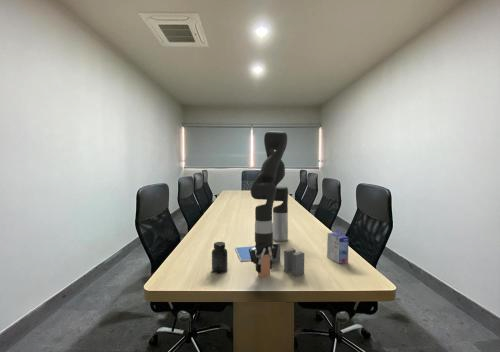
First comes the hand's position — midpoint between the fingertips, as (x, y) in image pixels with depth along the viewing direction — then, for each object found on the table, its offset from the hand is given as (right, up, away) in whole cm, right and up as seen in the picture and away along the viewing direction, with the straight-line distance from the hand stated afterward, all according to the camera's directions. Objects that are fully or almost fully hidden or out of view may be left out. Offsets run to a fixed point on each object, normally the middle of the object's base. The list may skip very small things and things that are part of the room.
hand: (264, 270), depth 99 cm
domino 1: (0, -2, 0) cm, 2 cm away
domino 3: (+12, -2, +4) cm, 13 cm away
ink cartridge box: (+37, -1, +16) cm, 40 cm away
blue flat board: (-6, -2, +25) cm, 26 cm away
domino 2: (+6, -2, +13) cm, 14 cm away
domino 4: (+14, -2, 0) cm, 15 cm away
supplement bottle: (-19, -2, +5) cm, 20 cm away
